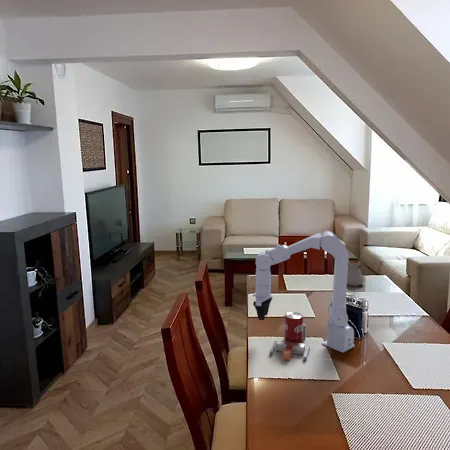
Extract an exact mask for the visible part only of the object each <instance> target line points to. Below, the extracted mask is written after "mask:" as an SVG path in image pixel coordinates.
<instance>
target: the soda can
mask: <svg viewBox="0 0 450 450" xmlns="http://www.w3.org/2000/svg"><path fill="white" fill-rule="evenodd" d="M283 318H284V319H283V341H288V342H295V343H302V344H304V340H303V324H304V315H303V314H302V313H300V312H298V311H287V312H286V313H285V314H284V317H283Z"/></svg>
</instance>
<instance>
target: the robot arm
mask: <svg viewBox="0 0 450 450" xmlns="http://www.w3.org/2000/svg"><path fill="white" fill-rule="evenodd" d="M320 247H321V248H320ZM311 248H312V249H315V250H321V249H322V250H323V251H324V252H326V253H328V254H330V255H331V256H333V257H334V269H333V272H334V273H333V282H332V284H333V285H332V297H331V299H330V304H329V305H328V307H327V312H328V314H329V318H328V320H327V327H326V328H327V332H326V340H325V341H323V342H321V344H322V345H323V346H326V347H328V348H331V349H333V350H335V351H337V352H338V351H339V352H341V353H345V352H347V351H349V350H350V349H352V348H355V344H354V341H355V330H354V328H353V327H352V326H350V325H349V323H348V322H349V315H348V314H347V304H346V302H347V301H346V298H347V286H348V285H347V273H348V267H349V263H348V261H350V259H349V258H350V256H349V255H350V254H349V252H348V251H347V249H346V247H345V245H344V244H343V242H342V241H341V239H340V238H339V236H338V235H336V234H335V233H334V232H332V231H330V230H324V231H322V232H317V233H315V234H312V235H310V236H308V237H306V238H304V239H302V240H299V241H297V242H295V243H293V244H290V245H286V244H282V245H281V244H280V243H279V244H278V245H276V247H274V248H272V249H269V250H268V249H266V250H265V251H261V252H259V253H258V254H257V255H256V258H255V265H256V268H255V292H254V293H252V297H255V300H254V301H253V307H254V308H255V311H256V315H257V320H258V321H264V320H265V318H266V317H267V316H268V313H269V309H270V304H271V302H272V300H273V296H272V293H271V288H272V287H271V280H272V278H271V277H272V273H271V266H274V265H277V264H279V263H281V262H284V261H287V260H289V259H291V255H293V254H296V253H300V252H303V251H305V250H308V249H311Z"/></svg>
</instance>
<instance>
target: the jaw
mask: <svg viewBox="0 0 450 450" xmlns="http://www.w3.org/2000/svg"><path fill="white" fill-rule="evenodd" d="M277 341H278V342H277V348H276V351H278V352H283V361H287V362H290V361H291V360H292V359H291V358H292V356H293V354H298V355H303V356H304V354H305V351H306V343H303V344H302V343H295V342H288V341H284V340H280V339H278V340H277Z"/></svg>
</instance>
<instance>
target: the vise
mask: <svg viewBox="0 0 450 450" xmlns="http://www.w3.org/2000/svg"><path fill="white" fill-rule="evenodd" d="M306 326H307V324H306V323H303V341H306V338H307V337H306V334H307V333H306V332H307V331H306V329H307V327H306ZM277 342H278V340H275V341H274V343H273V344H272V347H271V348H270V351H269V356H271V357H273V356H274V353H275V352H276V351H277ZM310 351H311V346H310V345H307V346H306V347H305V352H304V355H303V356H302V361H303V362H307V360H308V357H309V353H310Z"/></svg>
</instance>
